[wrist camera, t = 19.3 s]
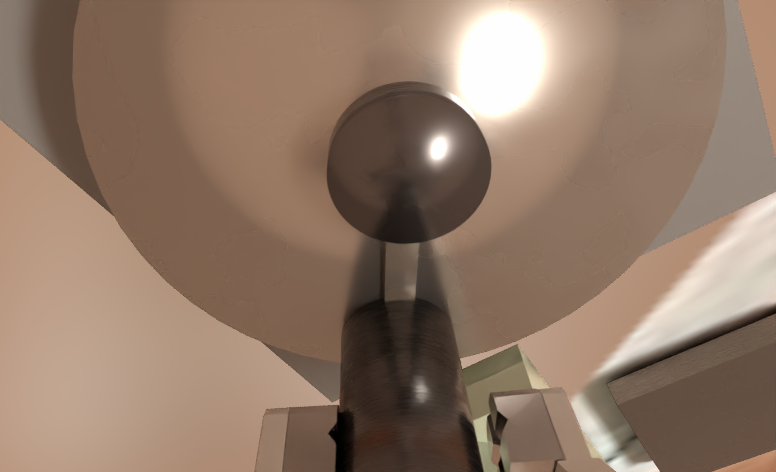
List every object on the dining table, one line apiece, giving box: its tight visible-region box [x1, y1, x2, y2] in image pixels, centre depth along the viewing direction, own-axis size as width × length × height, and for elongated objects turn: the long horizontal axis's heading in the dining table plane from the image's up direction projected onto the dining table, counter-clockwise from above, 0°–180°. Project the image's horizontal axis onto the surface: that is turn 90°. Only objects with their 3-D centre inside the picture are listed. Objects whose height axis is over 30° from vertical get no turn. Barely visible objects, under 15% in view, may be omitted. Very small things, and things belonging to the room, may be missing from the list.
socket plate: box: [607, 314, 776, 472], centre depth 21 cm, size 7×7×1 cm
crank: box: [72, 0, 727, 472], centre depth 9 cm, size 12×12×8 cm
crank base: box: [0, 0, 776, 402], centre depth 13 cm, size 14×14×2 cm
